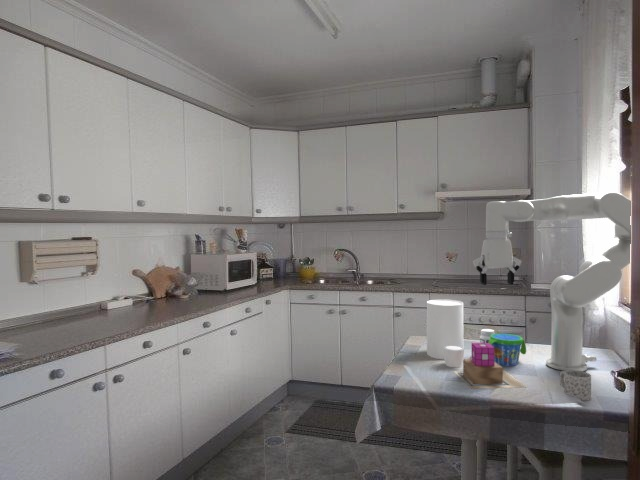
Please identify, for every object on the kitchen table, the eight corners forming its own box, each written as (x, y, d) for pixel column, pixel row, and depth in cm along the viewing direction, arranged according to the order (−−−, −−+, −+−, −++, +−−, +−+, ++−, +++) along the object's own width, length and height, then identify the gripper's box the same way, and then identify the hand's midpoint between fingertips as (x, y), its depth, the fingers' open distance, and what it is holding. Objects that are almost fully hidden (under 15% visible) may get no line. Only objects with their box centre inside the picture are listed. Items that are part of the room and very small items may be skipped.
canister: (463, 360, 166) (463, 306, 166) (425, 358, 170) (425, 304, 169) (463, 350, 179) (463, 300, 179) (427, 348, 183) (427, 298, 182)
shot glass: (465, 371, 155) (465, 350, 154) (444, 370, 156) (444, 349, 156) (463, 365, 161) (463, 345, 161) (443, 364, 163) (443, 344, 163)
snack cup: (516, 359, 167) (516, 331, 167) (535, 368, 157) (535, 338, 157) (477, 362, 164) (477, 334, 164) (494, 371, 154) (495, 341, 153)
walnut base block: (490, 373, 149) (490, 358, 148) (502, 383, 140) (502, 367, 139) (463, 374, 148) (463, 359, 148) (473, 384, 139) (473, 368, 139)
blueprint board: (503, 372, 152) (503, 369, 152) (527, 390, 136) (527, 386, 136) (453, 374, 152) (453, 370, 152) (471, 391, 136) (471, 387, 136)
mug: (596, 400, 129) (596, 376, 128) (576, 402, 127) (576, 378, 127) (570, 387, 138) (570, 366, 138) (551, 389, 137) (551, 367, 137)
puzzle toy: (489, 360, 146) (489, 343, 146) (494, 366, 141) (494, 347, 140) (471, 360, 147) (471, 342, 147) (475, 365, 141) (475, 347, 141)
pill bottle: (497, 355, 172) (497, 329, 172) (494, 359, 168) (494, 332, 167) (481, 353, 175) (481, 327, 175) (478, 357, 171) (478, 330, 170)
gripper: (516, 235, 166) (515, 282, 167) (469, 236, 165) (469, 283, 166) (526, 236, 158) (526, 285, 159) (477, 236, 158) (477, 286, 158)
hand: (497, 284), depth 162 cm, fingers open, 9 cm apart
